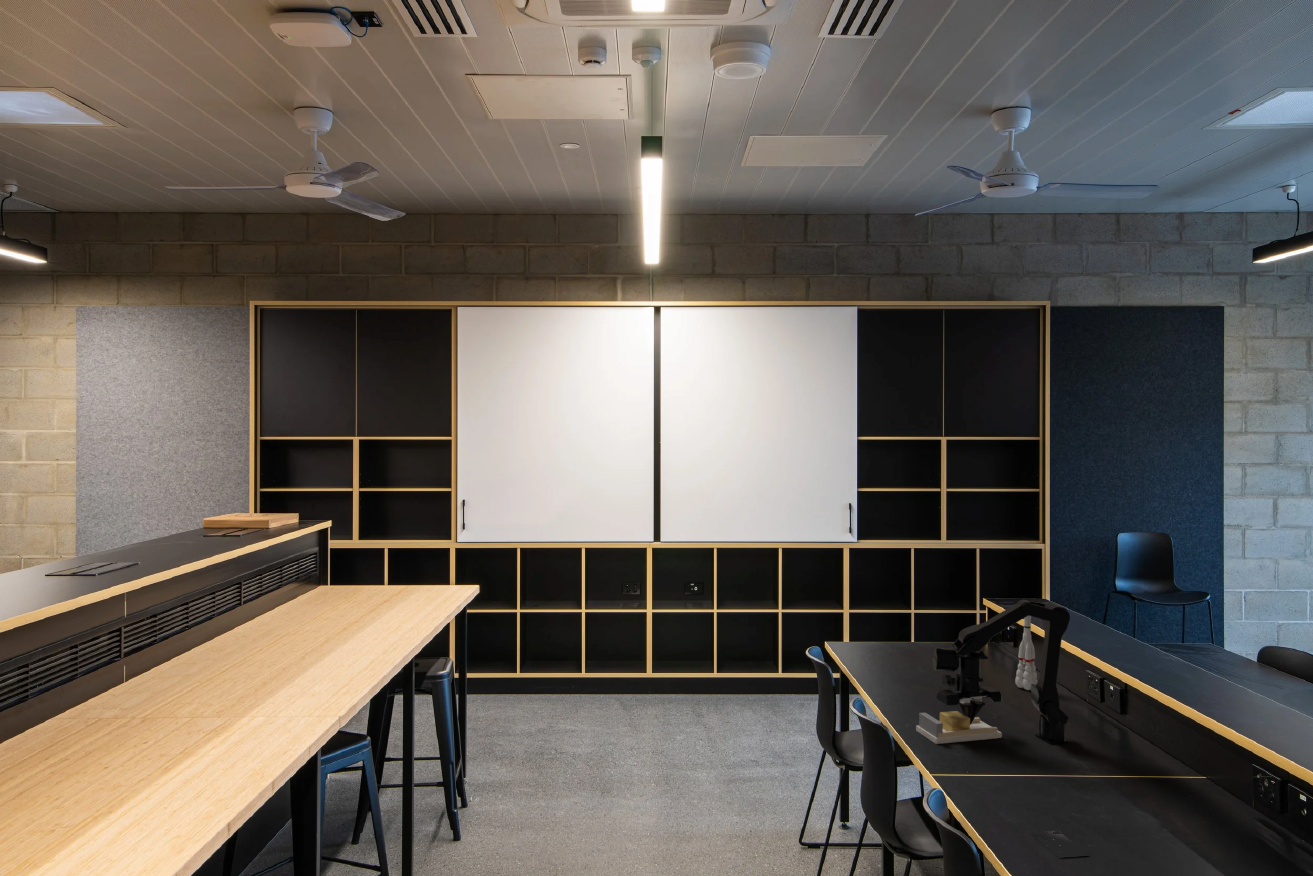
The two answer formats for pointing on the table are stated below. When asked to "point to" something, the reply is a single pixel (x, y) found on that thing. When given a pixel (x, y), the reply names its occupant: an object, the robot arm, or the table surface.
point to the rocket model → (1026, 659)
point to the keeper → (954, 721)
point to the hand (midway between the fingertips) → (968, 724)
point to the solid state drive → (1052, 836)
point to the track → (940, 735)
